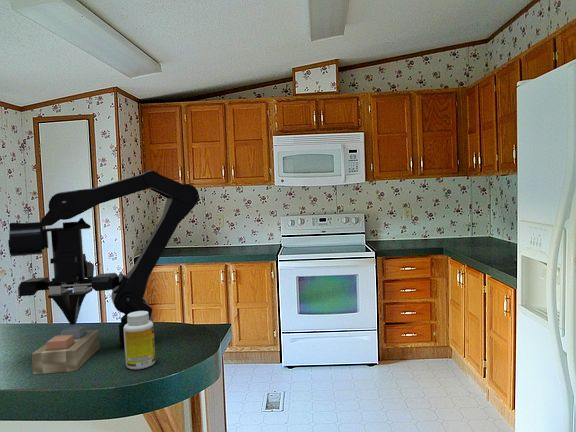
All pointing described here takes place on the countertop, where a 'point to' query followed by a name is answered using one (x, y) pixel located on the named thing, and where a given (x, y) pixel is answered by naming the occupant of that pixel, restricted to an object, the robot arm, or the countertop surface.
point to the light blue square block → (75, 331)
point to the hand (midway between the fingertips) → (73, 324)
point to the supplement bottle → (139, 340)
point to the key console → (66, 355)
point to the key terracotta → (60, 342)
